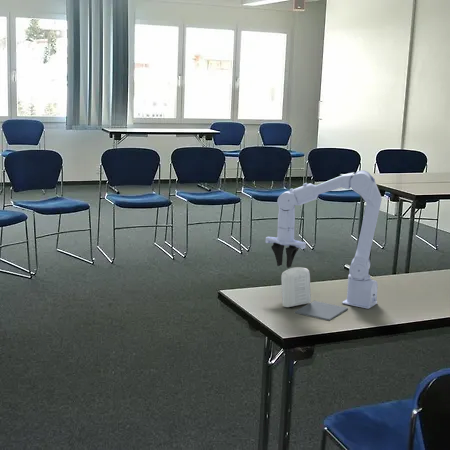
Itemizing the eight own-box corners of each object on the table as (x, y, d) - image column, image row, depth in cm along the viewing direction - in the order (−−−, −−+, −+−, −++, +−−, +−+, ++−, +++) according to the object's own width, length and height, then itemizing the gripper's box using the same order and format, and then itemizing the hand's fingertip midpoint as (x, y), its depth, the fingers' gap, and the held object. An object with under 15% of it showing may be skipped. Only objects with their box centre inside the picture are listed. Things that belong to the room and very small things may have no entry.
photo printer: (304, 301, 227) (302, 264, 225) (313, 303, 223) (311, 266, 222) (280, 306, 221) (278, 268, 220) (288, 308, 217) (286, 270, 216)
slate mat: (347, 309, 220) (347, 307, 220) (329, 320, 208) (329, 319, 208) (314, 302, 226) (314, 300, 226) (294, 312, 215) (294, 311, 215)
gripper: (261, 226, 229) (259, 265, 231) (299, 231, 221) (297, 272, 223) (271, 223, 234) (270, 261, 237) (309, 228, 226) (307, 267, 229)
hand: (284, 266), depth 231 cm, fingers open, 3 cm apart
